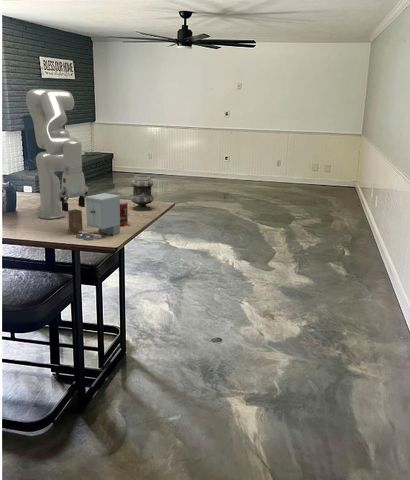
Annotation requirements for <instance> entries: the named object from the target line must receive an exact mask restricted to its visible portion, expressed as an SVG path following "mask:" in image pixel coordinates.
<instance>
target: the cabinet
mask: <svg viewBox="0 0 410 480" xmlns="http://www.w3.org/2000/svg"><path fill="white" fill-rule="evenodd" d="M120 200H121V195H117V194H112V193H107V192H103V193H99V194H98V193H97V194H93V195H88V196H87V195H86V198H85V207H86V209H85V210H86V226H87V227H91V228H95V229H98V232H99V233H103V234H108V235H112V236H115V235H119V234H120V233H121V226H120Z"/></svg>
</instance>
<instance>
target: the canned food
mask: <svg viewBox="0 0 410 480" xmlns="http://www.w3.org/2000/svg"><path fill="white" fill-rule="evenodd" d="M128 209H129V208H128V201H127V200H125V199H120V227H125V226H127V225H128V221H129V220H128V219H129V217H128Z"/></svg>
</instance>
